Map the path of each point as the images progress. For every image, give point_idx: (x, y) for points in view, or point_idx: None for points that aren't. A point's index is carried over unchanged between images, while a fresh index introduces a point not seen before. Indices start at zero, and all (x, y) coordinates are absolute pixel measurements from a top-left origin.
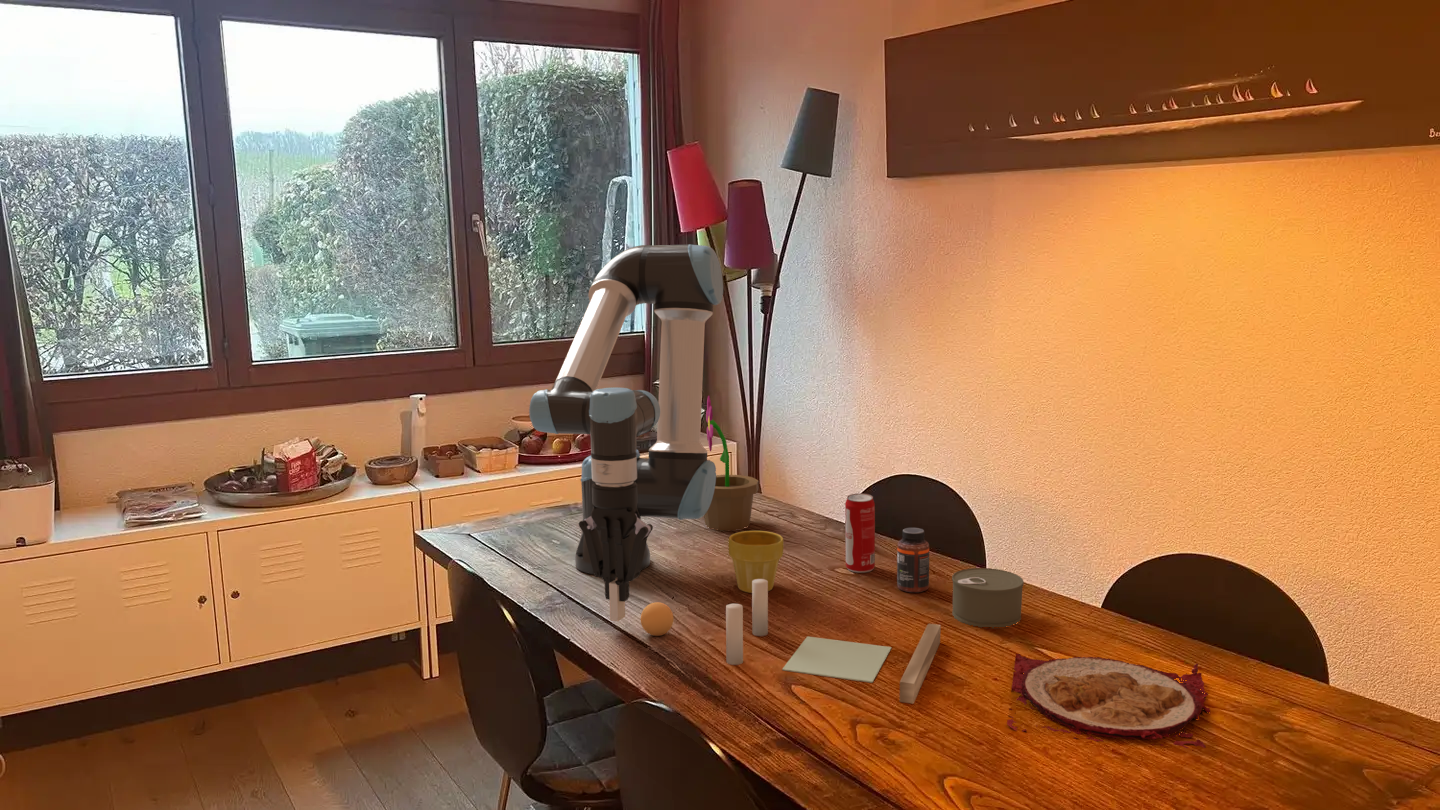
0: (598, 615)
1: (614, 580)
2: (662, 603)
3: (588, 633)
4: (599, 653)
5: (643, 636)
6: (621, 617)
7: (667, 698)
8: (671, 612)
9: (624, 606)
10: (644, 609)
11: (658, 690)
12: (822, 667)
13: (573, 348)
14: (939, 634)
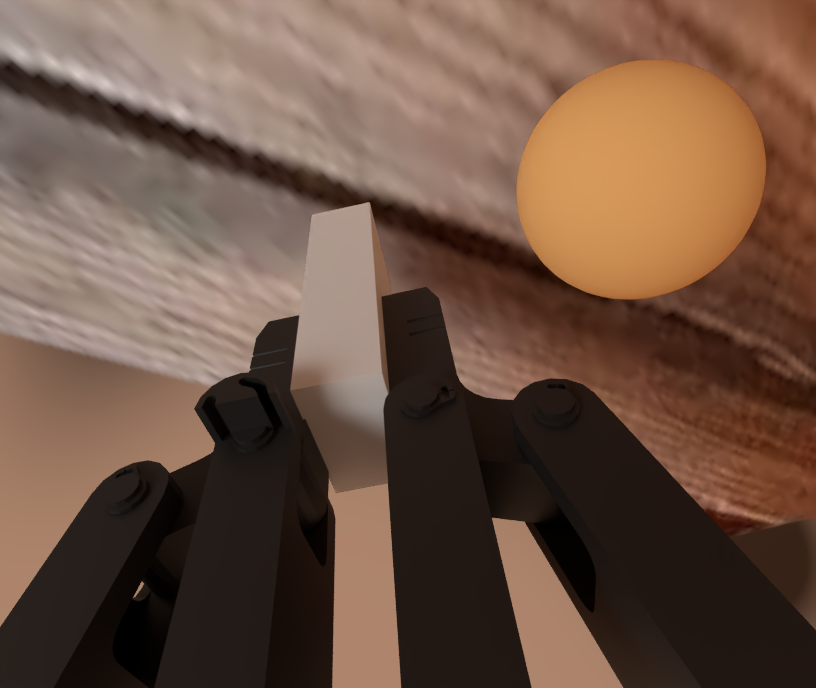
0: (38, 84)
1: (321, 436)
2: (721, 193)
3: (256, 323)
4: None
5: None
6: (382, 256)
7: (811, 507)
8: (765, 156)
9: (373, 242)
10: (583, 275)
11: (773, 493)
12: None
13: None
14: None
